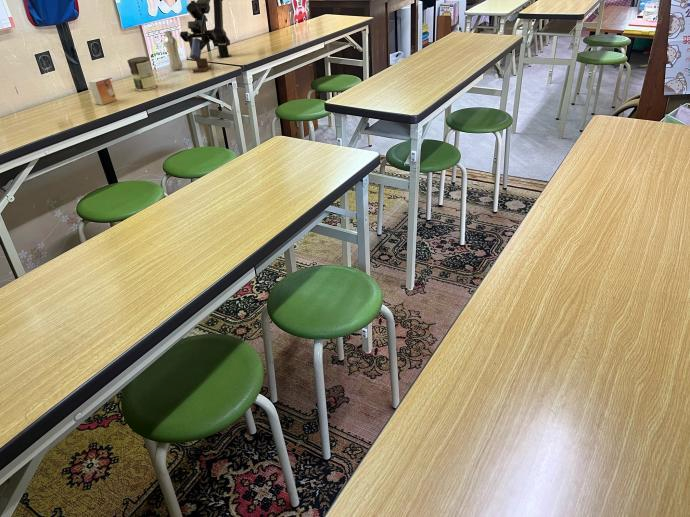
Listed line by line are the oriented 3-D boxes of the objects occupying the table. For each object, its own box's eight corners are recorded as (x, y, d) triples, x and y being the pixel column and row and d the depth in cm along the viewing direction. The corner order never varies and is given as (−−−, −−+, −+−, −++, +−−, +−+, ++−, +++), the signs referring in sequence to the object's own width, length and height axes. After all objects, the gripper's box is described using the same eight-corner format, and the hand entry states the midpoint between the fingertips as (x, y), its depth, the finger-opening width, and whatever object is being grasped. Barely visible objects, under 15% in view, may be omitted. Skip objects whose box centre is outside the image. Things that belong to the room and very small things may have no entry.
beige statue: (170, 69, 292) (160, 31, 281) (182, 67, 295) (173, 29, 284) (172, 71, 287) (162, 33, 276) (184, 69, 290) (175, 31, 279)
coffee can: (133, 91, 257) (124, 62, 249) (138, 86, 266) (130, 57, 258) (154, 89, 258) (146, 60, 250) (158, 84, 266) (150, 55, 258)
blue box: (198, 57, 285) (193, 36, 279) (207, 57, 284) (202, 36, 278) (189, 62, 276) (184, 41, 270) (198, 62, 275) (194, 40, 269)
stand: (199, 68, 289) (197, 57, 285) (211, 68, 287) (208, 57, 284) (193, 72, 282) (190, 61, 278) (205, 72, 280) (202, 60, 277)
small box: (102, 105, 241) (95, 82, 235) (95, 104, 244) (87, 81, 238) (117, 100, 246) (109, 77, 241) (109, 99, 249) (102, 76, 243)
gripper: (176, 15, 274) (172, 42, 271) (209, 13, 270) (205, 40, 267) (186, 28, 285) (183, 54, 282) (218, 26, 281) (214, 52, 278)
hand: (196, 50), depth 277 cm, fingers closed on blue box, 5 cm apart
